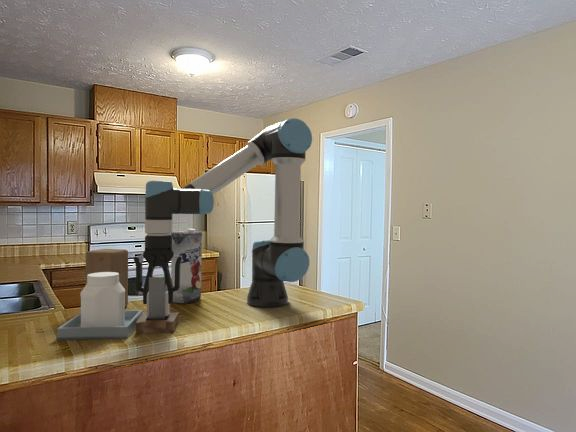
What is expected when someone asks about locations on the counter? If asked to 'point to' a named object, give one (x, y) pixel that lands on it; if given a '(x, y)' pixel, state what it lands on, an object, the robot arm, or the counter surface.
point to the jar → (103, 301)
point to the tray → (98, 328)
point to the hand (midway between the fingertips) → (158, 314)
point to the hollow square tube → (157, 324)
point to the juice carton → (187, 265)
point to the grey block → (157, 297)
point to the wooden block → (109, 264)
